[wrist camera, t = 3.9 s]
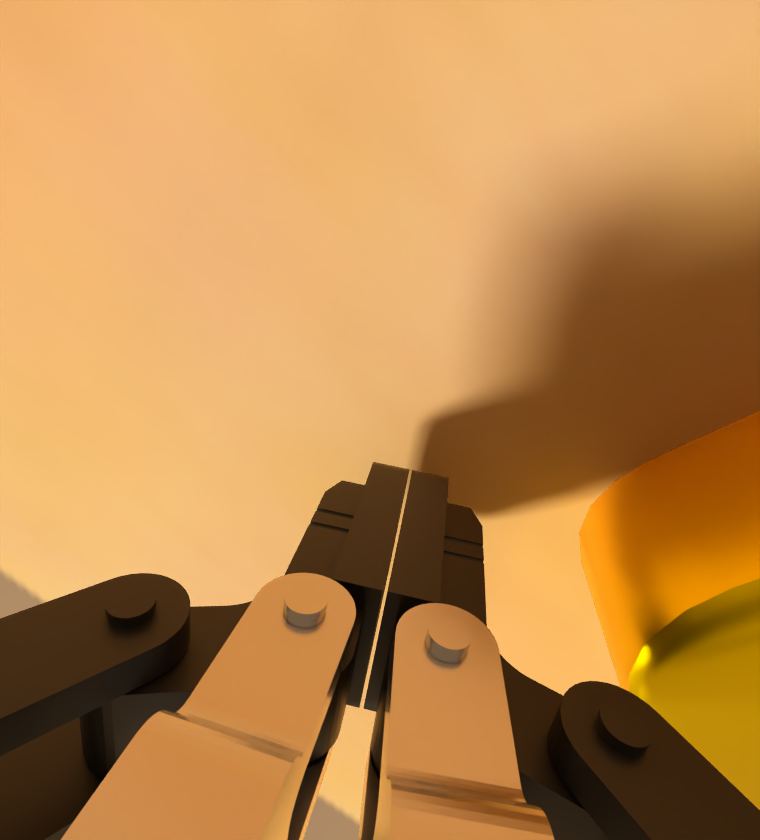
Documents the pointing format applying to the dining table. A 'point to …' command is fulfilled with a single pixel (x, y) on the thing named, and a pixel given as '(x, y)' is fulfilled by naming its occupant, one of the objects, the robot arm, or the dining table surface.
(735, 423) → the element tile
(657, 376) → the dining table surface
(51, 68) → the dining table surface
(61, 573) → the dining table surface
